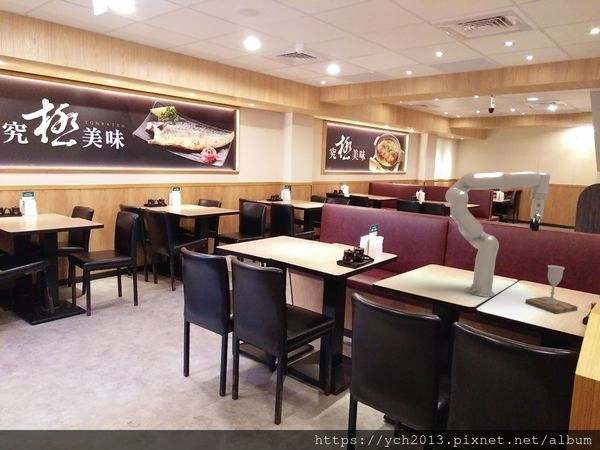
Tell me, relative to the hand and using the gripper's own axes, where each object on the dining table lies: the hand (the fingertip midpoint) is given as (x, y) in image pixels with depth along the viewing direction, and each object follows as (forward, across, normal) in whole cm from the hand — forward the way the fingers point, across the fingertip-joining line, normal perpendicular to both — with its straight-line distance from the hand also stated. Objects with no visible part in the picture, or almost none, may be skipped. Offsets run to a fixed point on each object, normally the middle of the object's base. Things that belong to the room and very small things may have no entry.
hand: (533, 229), depth 221 cm
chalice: (+34, -14, -10) cm, 38 cm away
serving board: (+35, -14, -10) cm, 39 cm away
